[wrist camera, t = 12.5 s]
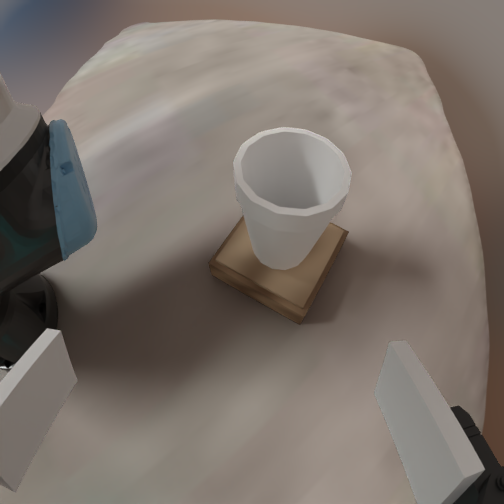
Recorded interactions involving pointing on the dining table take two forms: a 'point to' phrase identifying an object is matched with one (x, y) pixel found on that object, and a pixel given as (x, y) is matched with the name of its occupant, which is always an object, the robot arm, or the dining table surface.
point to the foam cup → (289, 192)
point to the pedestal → (277, 271)
